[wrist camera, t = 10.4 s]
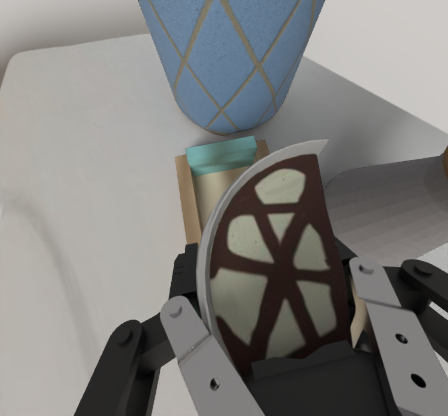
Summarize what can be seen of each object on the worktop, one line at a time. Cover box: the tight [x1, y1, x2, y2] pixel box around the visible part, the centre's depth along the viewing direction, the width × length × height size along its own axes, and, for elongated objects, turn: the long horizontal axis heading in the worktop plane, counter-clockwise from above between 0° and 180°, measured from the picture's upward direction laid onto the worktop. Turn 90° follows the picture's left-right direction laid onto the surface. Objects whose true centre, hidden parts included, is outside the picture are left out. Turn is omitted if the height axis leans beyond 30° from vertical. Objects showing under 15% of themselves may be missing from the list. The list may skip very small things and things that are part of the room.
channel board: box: [175, 136, 270, 322], centre depth 20 cm, size 12×20×5 cm, turn 12°
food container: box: [196, 139, 353, 379], centre depth 11 cm, size 12×6×10 cm, turn 1°
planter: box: [138, 0, 325, 136], centre depth 19 cm, size 19×19×20 cm
